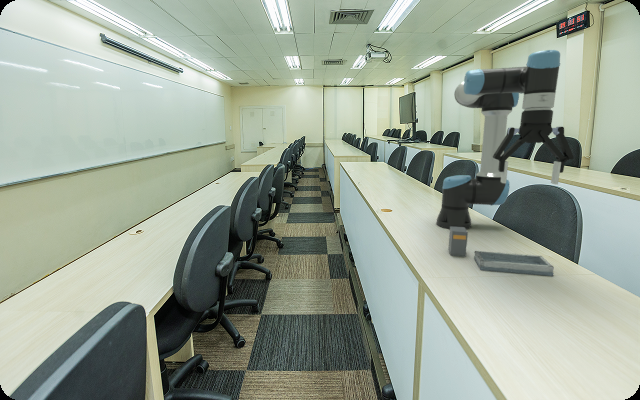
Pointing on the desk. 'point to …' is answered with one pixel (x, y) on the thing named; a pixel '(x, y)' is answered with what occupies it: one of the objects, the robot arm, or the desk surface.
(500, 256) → the shallow grey tray
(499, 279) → the desk surface
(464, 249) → the block
